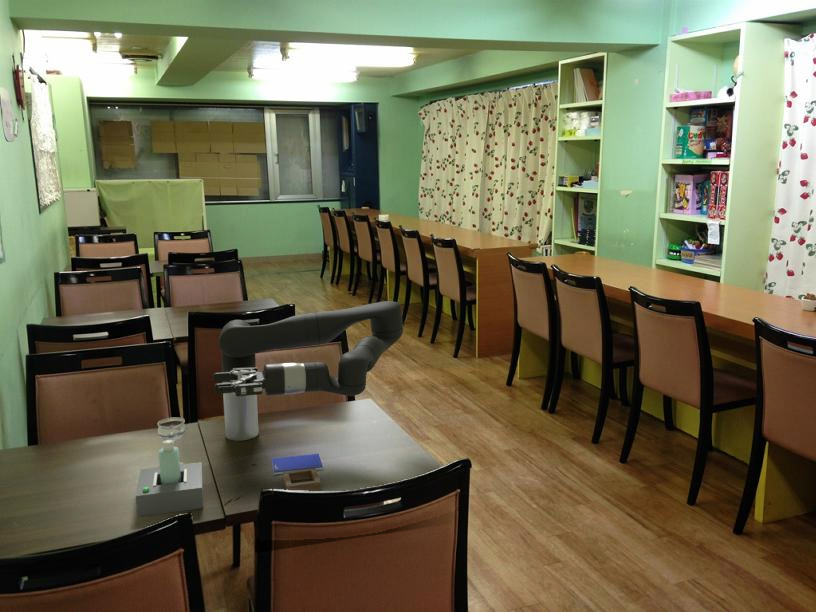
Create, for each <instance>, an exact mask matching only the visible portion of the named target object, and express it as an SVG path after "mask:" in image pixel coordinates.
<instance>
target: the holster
mask: <svg viewBox="0 0 816 612" xmlns="http://www.w3.org/2000/svg"><path fill="white" fill-rule="evenodd" d="M307 479H308V480H309V479H311V480H309V481H301V482H295V483H292V482H294V481H299V480H307ZM282 480H283V484H284V487H285V490H286V489H288V490H309V492H315V491H321V489H322V483H321V479H320V477H319V474H318V470H316V469H315V468H312V469H304V470H296V471H288V472H283V474H282Z"/></svg>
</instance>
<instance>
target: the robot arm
mask: <svg viewBox="0 0 816 612" xmlns="http://www.w3.org/2000/svg"><path fill="white" fill-rule="evenodd" d="M367 320H368V321H370V331H371V336H366V337H363V338H361V339H360V340H359V341H358V342H357V343H356V344H355V346H354V347H353V348H352V349H351V350H349V351H347V352H345V353H343V354H342V355H341V357H340V358H339V361H338V365H337V366H338V367H337V369H338V370H337V377H335V376H334V377H333V376H331V375H330V370H329V367H328V365H327V362H322V361H314V362H278V363H276V362H275V363H265V364H264V365H263V371H259V368H258V367H256V363H257V361H256V359H257V358H256V354H258V353H259V354H260V353H263V352H267V351H273V350H285V349H295V348H302V347H303V348H304V347H311V346H312V347H313V346H319V345H325V344H328V343H330V342H332V341H333V340H334V339H336V338H338V336H339V335H341V334H342V333H344V332H345V330H347V329H348V328H350V327H351V326H353V325H355V324H357V323H360V322H363V321H367ZM403 333H404V324H403V310H402V306H401V304H400V303H399V302H397V301H392V300H389V301H388V300H384V301H379V302H373V303H368V304H362V305H358V306H354V307H349V308H344V309H343V308H341V309H335V310H326V311H325V310H324V311H316V312H308V313H302V314H297V315H292V316H290V317H287V318H284V319H281V320H278V321H275V322H271V323H268V324H260V325H259V324H258V325H251V324H249V322H247V321H246V320H242V319H234V320H233V319H232V320H230V321H229V322H227V323H226V324H225V325H224V326H223V327H222V330H221V332H220V335H219V337H218V347H219V349H220V350H221V359H222V360H221V372H214V373H213V381H214V393H215V394H217V395H221V394H222V395H223V396H222V397H223V414H224V427H225V428H224V431H225V432H224V433H225V437H226V439H228V440H231V441H245V440H246V441H248V440H251V439H254V438H255V437H257V436H258V435H259V419H258V418H259V417H258V416H259V415H258V414H259V413H258V398H257V397H258V395H259V396H261V395H263V390H264V394H265V396H267V397H268V396H282V395H297V394H301V393H309V392H310V393H311V392H326V393H332V394H337V395H343V396H345V397H347V396H348V397H355V396H358V395H360V394H362V393H363V392H364V391H365V389H366V386H367V375H368V374H367V373H369V372H370V371H372V370H373V369H374V367H375V365H376V364H377V362H378V361H379V359H380V358H381V356H382V355H383V354H384V353H385V352H386V351H387V350H388V349H389V348H391V347H392V346H393V345H394V344H396V342H398V340H400V338H401V337H402V335H403Z"/></svg>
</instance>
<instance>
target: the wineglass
mask: <svg viewBox="0 0 816 612" xmlns="http://www.w3.org/2000/svg"><path fill="white" fill-rule="evenodd" d="M185 422H186V421H185V418H183V417H167V418H164V419H160V420H158V422H157V427H158V429H157V434H158V436H159V438H160V439H161V440H163V441H166V440H173V442H174V444H176V442H177V441H179V440H181V439H182V438H183V437H184V435H185V434H186V424H185ZM181 464H185V463H184V462H182V461H180V465H181Z"/></svg>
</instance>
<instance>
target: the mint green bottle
mask: <svg viewBox="0 0 816 612" xmlns="http://www.w3.org/2000/svg"><path fill="white" fill-rule="evenodd" d="M161 443H162V447H161V448H160V449H159V450H158V462H159V463H158V464H159V467H160V477H161V485H165V484H173V483H181V474H180V462H181V460H180V449H179V447H177V446H175V443H174V442H173V440H166V441H164V440H163V441H162V442H161Z"/></svg>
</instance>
